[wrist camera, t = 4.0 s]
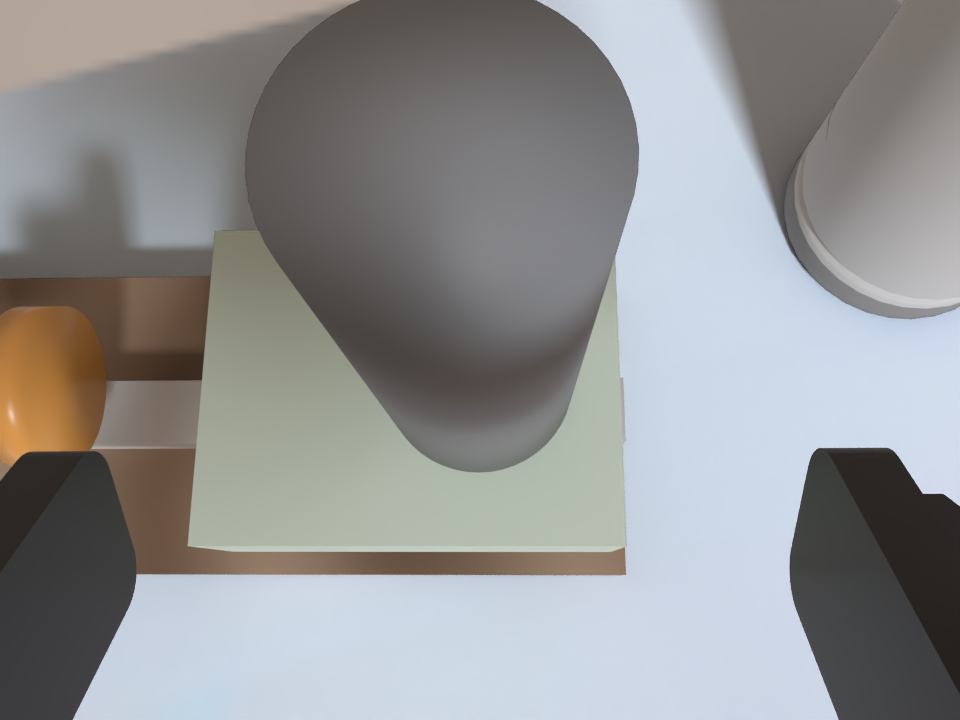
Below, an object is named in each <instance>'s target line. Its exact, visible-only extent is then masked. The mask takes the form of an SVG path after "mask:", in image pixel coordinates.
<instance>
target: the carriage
mask: <svg viewBox="0 0 960 720" xmlns="http://www.w3.org/2000/svg"><path fill="white" fill-rule="evenodd" d="M638 162H639V144H638V136H637V128H636V122H635V118H634V114H633V111H632V107H631V103H630V100H629V98H628V96H627V93H626V91H625V89H624V87H623V84H622V82H621V80H620V78H619V76H618V75H617V73H616V72H615V70H614V68H613V67H612V65H611V63H610V62H609V60H608V59H607V58H606V56H605V55H604V54H603V53H602V52H601V50H600V49H599V48H598V47H597V45H596V44H595V43H594V42H593V41H592V40H591V39H590V38H589V37H588V36H587V35H586V34H585V33H584V32H582V31H581V30H580V29H579V28H578V27H577V26H576V25H575V24H573V23H572V22H570V21H569V20H568V19H566V18H565V17H563V16H562V15H561V14H559V13H558V12H556V11H554V10H552V9H551V8H549V7H547V6H545V5H543V4H541V3H540V2H538V1H536V0H360V1H358V2H356V3H353V4H351V5H349V6H347V7H346V8H344V9H342V10H341V11H339V12H337V13H335V14H334V15H332V16H330V17H329V18H327V19H326V20H325V21H323V22H322V23H321V24H319V25H318V26H317V27H315V28H314V29H313V30H311V31H310V32H309V33H308V34H307V35H306V36H305V37H304V38H303V39H302V40H301V41H300V42H299V43H298V44H297V45H296V46H294V47H293V48H292V50H291V51H290V52H289V53H288V55H287V56H286V57H285V58H284V60H283V61H282V62H281V63H280V64H279V66H278V67H277V69H276V70H275V72H274V73H273V75H272V77H271V78H270V80H269V82H268V83H267V85H266V86H265V88H264V91H263V93H262V95H261V97H260V100H259V102H258V104H257V106H256V109H255V112H254V115H253V119H252V122H251V125H250V129H249V134H248V141H247V147H246V162H245V177H246V185H247V192H248V199H249V203H250V206H251V210H252V213H253V217H254V220H255V223H256V226H257V228H258V230H223V231H215V236H214V247H213V259H212V271H211V282H210V294H209V305H208V317H207V328H206V340H205V351H204V363H203V374H202V386H201V398H200V409H199V421H198V432H197V444H196V455H195V467H194V478H193V490H192V501H191V513H190V525H189V536H188V546H190V547H199V548H207V549H215V550H224V551H232V552H612V551H615V550H618V549H621V548H624V547H627V541H626V516H625V491H624V466H623V441H622V416H621V391H620V366H619V341H618V316H617V291H616V266H615V255H616V252H617V249H618V245H619V242H620V239H621V236H622V232H623V229H624V226H625V223H626V220H627V216H628V213H629V210H630V207H631V203H632V200H633V197H634V193H635V187H636V181H637V175H638Z"/></svg>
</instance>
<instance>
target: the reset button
mask: <svg viewBox="0 0 960 720" xmlns="http://www.w3.org/2000/svg"><path fill="white" fill-rule="evenodd" d="M105 402H106V370H105V362H104V357H103V352H102V348H101V345H100V342H99V339H98V336H97V334H96V332H95V330H94V328H93V326H92V324H91V323H90V322H89V320H88V319H87V318H86V317H85V316H84V314H82V313H81V312H80V311H79V310H77V309H75V308H72V307H68V306H52V307H15V308H11V309H9V310H7V311H5V312H4V313H3V314H1V315H0V461H1V462H3V463H4V464H6V465H8V466H10V467H12V466H13V465H14V463H15V462H16V461H17V460H18V459H19V458H20V457H21V456H22V455H23V454H25V453H27V452H33V451H90V450H91V448H92V446H93V444H94V442H95V440H96V438H97V436H98V433H99V430H100V427H101V424H102V420H103V415H104V409H105Z"/></svg>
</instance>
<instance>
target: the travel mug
mask: <svg viewBox="0 0 960 720" xmlns="http://www.w3.org/2000/svg"><path fill="white" fill-rule="evenodd" d="M784 219H785V223H786V227H787V232H788V236H789V239H790V241H791V244H792V246H793V248H794V250H795V252H796V255H797V257H798V258H799V260H800V261H801V263H802V264H803V265H804V267H805V268H806V270H807V271H808V272H809V274H810V275H811V276H812V277H813V278H814V279H815V280H816V281H817V282H818V283H819V284H820V285H821V286H822V287H823V288H824V289H825V290H827V291H828V292H830V293H831V294H833V295H834V296H836V297H837V298H839V299H840V300H841V301H843V302H844V303H846V304H849V305H851V306H853V307H855V308H858V309H860V310H862V311H865V312H867V313H871V314H875V315H880V316H884V317H888V318H901V319H916V318H924V317H932V316H936V315H939V314H942V313H945V312H948V311H951V310H954V309H956V308H958V307H959V306H960V0H904V2H903V3H902V5H901V6H900V8H899V9H898V11H897V12H896V14H895V15H894V17H893V18H892V20H891V21H890V23H889V24H888V26H887V27H886V29H885V30H884V32H883V33H882V35H881V36H880V38H879V39H878V41H877V42H876V44H875V45H874V47H873V48H872V50H871V51H870V53H869V54H868V56H867V57H866V59H865V60H864V62H863V63H862V65H861V66H860V68H859V69H858V71H857V72H856V74H855V75H854V77H853V78H852V80H851V81H850V83H849V84H848V86H847V87H846V89H845V90H844V92H843V93H842V95H841V96H840V98H839V99H838V101H837V102H836V104H835V105H834V107H833V108H832V110H831V111H830V113H829V114H828V116H827V117H826V119H825V120H824V122H823V123H822V125H821V126H820V128H819V129H818V131H817V132H816V134H815V136H814V137H813V139H812V140H811V141H810V143H809V144H808V146H807V147H806V149H805V150H804V152H803V153H802V155H801V156H800V158H799V159H798V161H797V162H796V164H795V166H794V168H793V170H792V173H791V175H790V177H789V179H788V183H787V188H786V193H785V197H784Z"/></svg>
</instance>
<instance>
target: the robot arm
mask: <svg viewBox="0 0 960 720" xmlns="http://www.w3.org/2000/svg"><path fill="white" fill-rule="evenodd" d="M136 571H137V566H136V555H135V551H134V547H133V544H132V540H131V537H130V534H129V530H128V527H127V524H126V521H125V517H124V514H123V511H122V507H121V504H120V501H119V498H118V494H117V491H116V488H115V484H114V481H113V478H112V475H111V471H110V468H109V465H108V463H107V461H106V459H105V458H104V457H103V455H102V454H100V453H99V452H96V451H33V452H27V453H25V454H23V455H22V456H21V457H20V458H19V459H18V460H17V461H16V462H15V463H14V465H13V466H12V467H11V468H10V469H9V471H8V472H7V473H6V474H5V476H4V477H3V478H2V479H1V481H0V720H73V718H74V716H75V714H76V712H77V710H78V708H79V706H80V704H81V702H82V700H83V698H84V696H85V694H86V692H87V690H88V688H89V686H90V684H91V682H92V680H93V678H94V676H95V674H96V672H97V670H98V668H99V666H100V664H101V662H102V660H103V658H104V656H105V654H106V652H107V650H108V648H109V646H110V644H111V642H112V640H113V638H114V636H115V634H116V632H117V630H118V628H119V626H120V624H121V622H122V620H123V618H124V616H125V614H126V612H127V610H128V608H129V605H130V603H131V600H132V597H133V593H134V589H135V583H136ZM790 583H791V590H792V595H793V600H794V604H795V607H796V610H797V613H798V615H799V618H800V620H801V623H802V626H803V628H804V631H805V633H806V636H807V639H808V641H809V644H810V646H811V649H812V651H813V654H814V657H815V659H816V662H817V664H818V667H819V670H820V672H821V675H822V677H823V680H824V682H825V685H826V688H827V690H828V693H829V695H830V698H831V701H832V703H833V706H834V708H835V711H836V713H837V716H838V719H839V720H960V506H959V505H957V504H956V503H955V502H953V501H952V500H951V499H949V498H948V497H947V496H945V495H944V494H922V492H921V491H920V489H919V487H918V486H917V484H916V483H915V481H914V480H913V478H912V477H911V475H910V474H909V472H908V471H907V469H906V468H905V466H904V465H903V463H902V462H901V460H900V459H899V457H898V456H897V454H896V453H895V452H894V451H893V450H891V449H889V448H819V449H817V450H816V451H815V452H814V453H813V455H812V456H811V459H810V462H809V466H808V470H807V475H806V480H805V485H804V490H803V495H802V499H801V504H800V509H799V514H798V519H797V524H796V528H795V533H794V538H793V543H792V548H791V554H790Z"/></svg>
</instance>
